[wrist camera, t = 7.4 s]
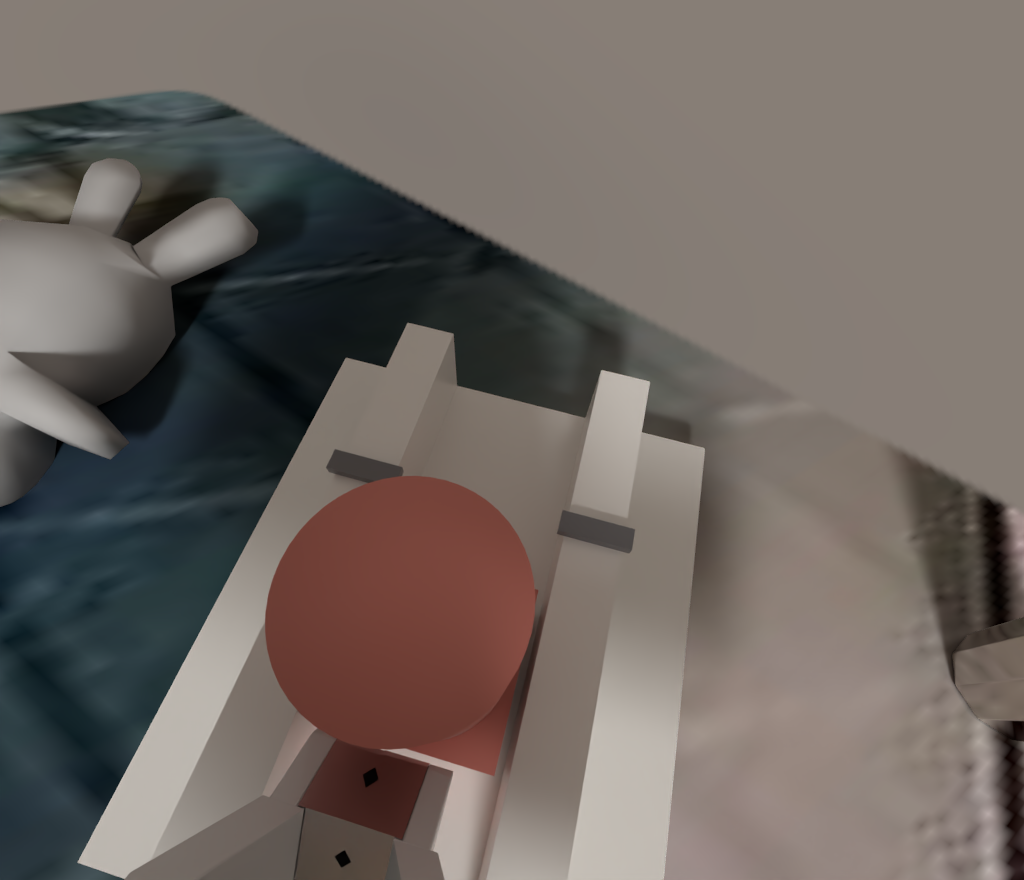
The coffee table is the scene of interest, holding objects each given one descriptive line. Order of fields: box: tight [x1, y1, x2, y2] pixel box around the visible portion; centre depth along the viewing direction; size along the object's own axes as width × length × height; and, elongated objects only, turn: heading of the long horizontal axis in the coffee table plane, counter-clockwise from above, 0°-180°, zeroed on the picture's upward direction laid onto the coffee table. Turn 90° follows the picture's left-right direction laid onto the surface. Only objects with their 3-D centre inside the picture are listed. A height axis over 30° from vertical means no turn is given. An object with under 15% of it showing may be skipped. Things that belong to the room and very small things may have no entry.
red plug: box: [265, 476, 538, 776], centre depth 12 cm, size 4×4×8 cm
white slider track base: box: [78, 323, 705, 880], centre depth 15 cm, size 14×16×5 cm
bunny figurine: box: [0, 158, 258, 507], centre depth 20 cm, size 10×5×15 cm
